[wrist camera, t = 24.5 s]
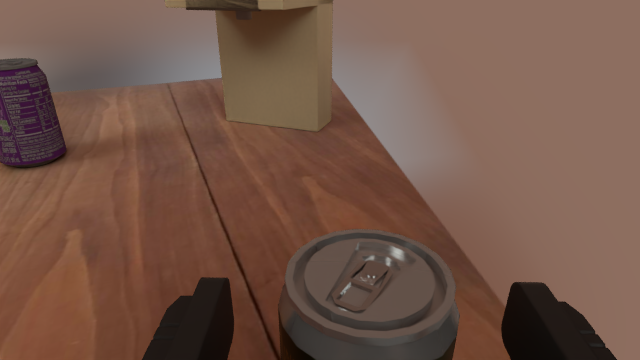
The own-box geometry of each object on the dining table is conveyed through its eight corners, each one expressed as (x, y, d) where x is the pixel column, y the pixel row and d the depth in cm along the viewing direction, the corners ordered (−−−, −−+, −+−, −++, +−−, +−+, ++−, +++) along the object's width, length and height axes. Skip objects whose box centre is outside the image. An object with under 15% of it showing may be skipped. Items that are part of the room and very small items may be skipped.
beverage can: (23, 150, 56) (-7, 57, 51) (78, 149, 56) (53, 57, 51) (-12, 172, 49) (-51, 68, 44) (50, 170, 50) (19, 68, 45)
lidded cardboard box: (288, 156, 54) (282, -12, 45) (185, 141, 59) (162, -13, 50) (339, 114, 71) (341, -14, 62) (256, 105, 76) (248, -14, 68)
